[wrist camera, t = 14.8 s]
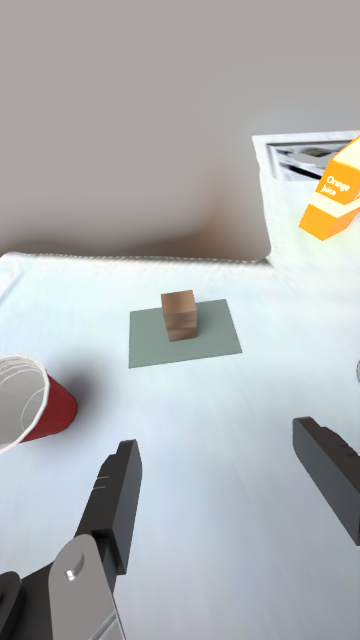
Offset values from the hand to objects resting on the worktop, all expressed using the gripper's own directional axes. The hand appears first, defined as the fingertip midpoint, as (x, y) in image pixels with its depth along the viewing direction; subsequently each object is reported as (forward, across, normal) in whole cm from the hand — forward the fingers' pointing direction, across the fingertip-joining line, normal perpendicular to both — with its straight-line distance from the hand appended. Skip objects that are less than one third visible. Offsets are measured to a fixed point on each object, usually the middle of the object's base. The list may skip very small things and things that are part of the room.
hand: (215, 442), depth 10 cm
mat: (+28, +1, +2) cm, 28 cm away
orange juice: (+47, -39, -15) cm, 62 cm away
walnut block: (+28, +1, +2) cm, 28 cm away
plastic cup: (+19, +22, +11) cm, 31 cm away
